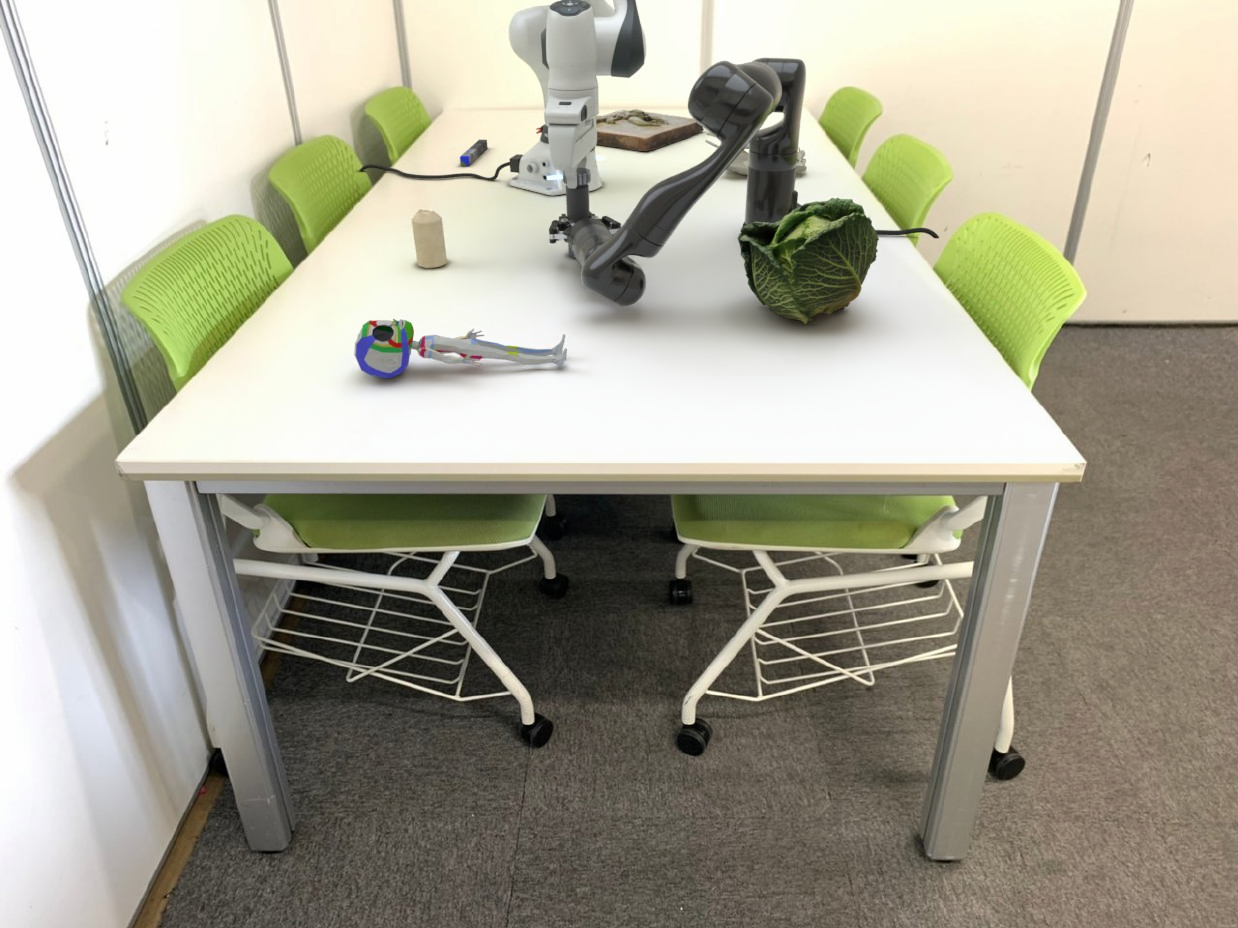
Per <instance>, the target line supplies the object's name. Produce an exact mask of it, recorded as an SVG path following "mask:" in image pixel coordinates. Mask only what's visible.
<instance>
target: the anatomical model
mask: <svg viewBox="0 0 1238 928" xmlns="http://www.w3.org/2000/svg"><path fill="white" fill-rule="evenodd" d="M705 135H706V136H710V137H714V138H716V137H715V136H714V135H712V134H711V133H710V132H709V131H707V132H706V134H705ZM705 143H707V145H710V146H712V147H714V148H716V149H717V148H718V147H719V146H720V145H719V144H716V143H714V142H712V141H710V140H707V139H705ZM749 144H750V142H749V143H748V145H747V146H746V147H745V148H744V149H743V150H742V152H741V153H740V154H739V155H738V156H737V158H736V159H735V160H734V161H733V162H732V163H731V165H730V166H729V167H728V168H727V169H726V170H727V171H729V172H736V173H737V174H739V175H742V176H748V160H749V151H746V150H749ZM805 156H806V152H805V150H801V148H800V147H798V153H797V164H796V174H798V173H803V172H805V171H807V170H808V168H807V165H806V164H807V159H806V158H805Z"/></svg>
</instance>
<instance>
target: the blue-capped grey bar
mask: <svg viewBox="0 0 1238 928" xmlns="http://www.w3.org/2000/svg"><path fill="white" fill-rule="evenodd" d="M487 149H488V140H487V139H478V140H477V141H476V142H474V144H473V145H471V146H470V147H469V148H468V149H467V150H466V151H465V152H463V154H461V155H460V156H459V163H460V164H459V165H460V166H461V167H465V166H466V167H467V166H470V165H472V164H473V162H475V161H476V160H477V158H479V157H480V156H481V155H482V154H483V153H484V152H485V151H486V150H487Z"/></svg>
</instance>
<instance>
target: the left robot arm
mask: <svg viewBox="0 0 1238 928" xmlns="http://www.w3.org/2000/svg"><path fill="white" fill-rule="evenodd" d="M612 1H613V3H612V4H613V6H611V5H610V4H609V2H607V1H606V0H558V1H555V2H554V1H553V2H552V3H551V4H548V5H535V6H531V7H529V8H524V9H522V10H519V11H515V13H514V15H513V16H512V17H511V20H510V22H509V25H508V40H509V44H510V46H511V49H512V51H513V52H514V54H515V55H516V56H517V57H518V58H519V59H520V60H521V61H523V62H524V63H525V64H526V65H528V66H529V67H530V69H531V70H532V72H534V74H535V76H536V78H537V80H538V82H539V85H540V88H541V91H542V99H543V107H544V111H543V119H544V124H543V125H541V126H540V127H537V128H535V130H536V132H535V133H536V134H540V138H539V141H538V142H536V143H535V144H534V145H533V146H532V147H530V149H529V150H527V151H526V152H525V153H524V154H520V153H519V154H518V153H517V154H514V155H513V156H511V157H510V158H509V161H508V162H507V161H506V162H504V163H502V164H500V165H499V166H498V167H497V168H496V169H495V173H494V175H493V176H491V177H486V176H482V175H480V174H476V173H471V172H462V173H461V172H459V173H451V174H435V175H434V174H433V175H431V174H429V175H428V174H415V173H408V172H404V171H401V169H397V168H393V167H389V166H388V167H387V166H383V165H380V164H374V163H369V164H365V165H363V166H361V168H360V169H359V170H358V172H359V173H360V172H361V173H362V172H364V171H365V170H367V169H371V168H372V169H379V170H383V171H386V172H391V173H392V172H393V173H396V174H398V175H400V176H402V177H406V178H413V179H422V180H443V179H452V178H453V179H454V178H475V179H479V180H483V181H489V182H492V181H493V182H494V181H495V180H497V178H498V177H499V174H500V172H501V170H502V169H504V168H507V167H509V171H510V173H516V175H514V176H513V177H512V178H511V179H510V180H509V186H511V187H514V188H517V189H518V188H519V189H523V190H527V191H531V192H535V193H539V194H543V195H545V196H559V195H566V185H567V187H568V188H572V189H575V188H576V187H577V186H578V177H577V172H576V169H577V168H587V169H589V170H590V174H591V181H590V183H588V185H589V192H592V191H595V190H598V189H600V188H601V187H602V186H603V183H602V180H601V178H600V177H601V176H600V173H599V168H598V163H597V161H605V156H602V155H596V146H597V144H596V143H597V124H596V116H599V114H600V102H599V101H600V99H599V81H598V78H597V77H606V76H609V77H610V76H611V78H612V77H613V78H623V79H624V78H625V79H630V78H631V77H632V76H634V75H635V74H636V73H637V72H638V71H640V69H642V67H643V66H644V65H645V61H646V56H647V41H646V35H645V32H644V29H643V26H642V23H641V20H640V15H639V11H638V10H639V9H638V5H637V0H612ZM613 7H614V8H613ZM563 170H564V172H565V175H566V178H567V184H565V183H564V182H563ZM517 173H518V174H517Z"/></svg>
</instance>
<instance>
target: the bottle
mask: <svg viewBox="0 0 1238 928" xmlns="http://www.w3.org/2000/svg"><path fill="white" fill-rule="evenodd" d="M565 201H566V203H565V205H566V216H567V217H568V220H571V219H573V220H575V221H576V222H578V221H580V220H582V219H585V218H590V213H589V211H590V191H589V185H588V184H584V185H578V186H577V187H576V188H575V189H572V188H568V187H567V185H566V194H565ZM567 244H568V243H567ZM567 247H568V257H569V258H571V259H576V258H575V257H574V254H573V252H572V250H571V248H570V246H569V244H568V246H567ZM576 260H577V259H576Z"/></svg>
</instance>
